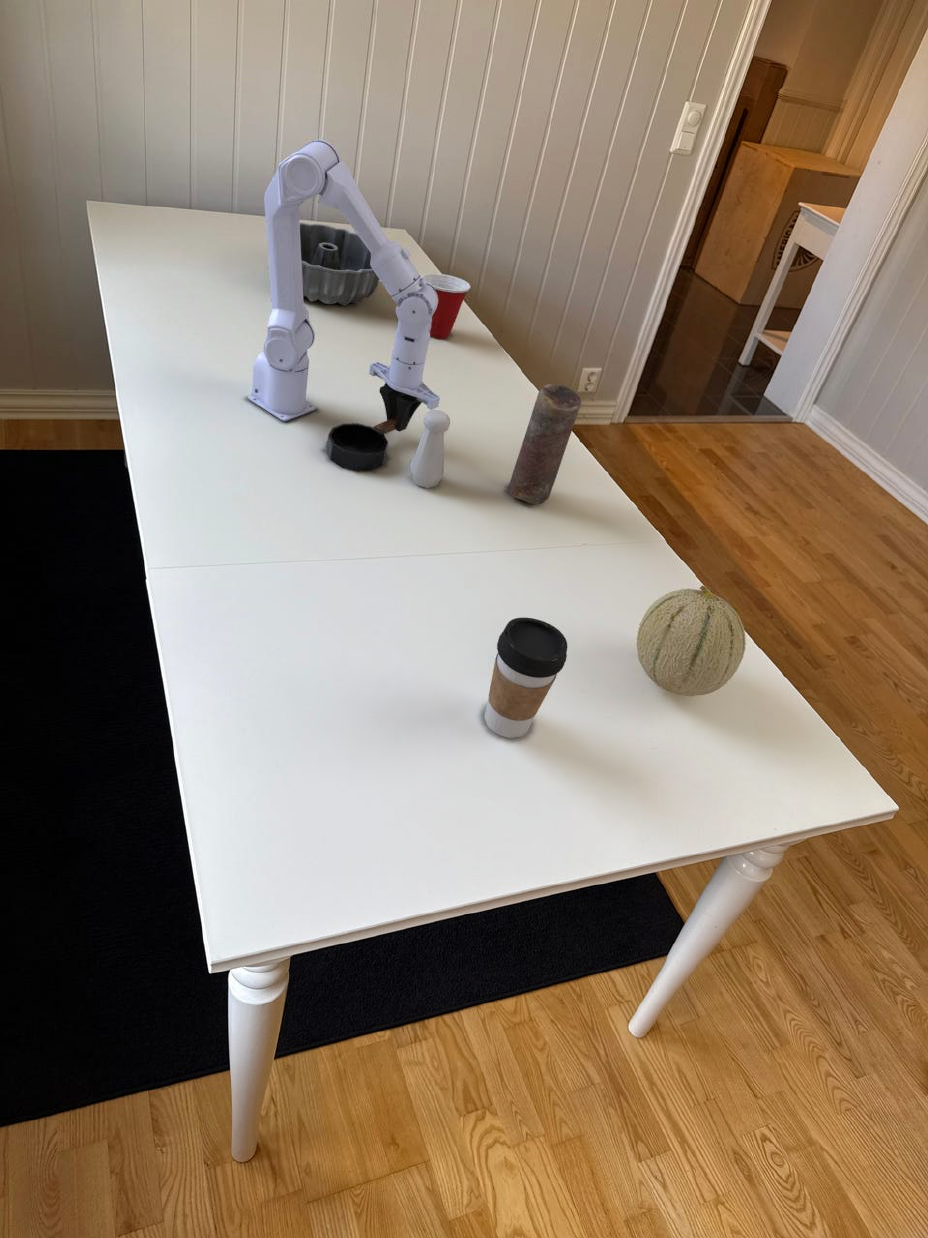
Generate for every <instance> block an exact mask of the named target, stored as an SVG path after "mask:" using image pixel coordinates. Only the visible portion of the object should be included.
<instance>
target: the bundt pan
mask: <svg viewBox="0 0 928 1238" xmlns="http://www.w3.org/2000/svg"><path fill="white" fill-rule="evenodd" d="M299 223H300V243H301V263H302V283H303V297H306V298H307V299H308V300H309V301H310V302H315V301H318V300H319V301H320V302H321V303H323V304H326V305H334V304H336V303H337V304H339V305H341V306H347V305H348V304H349V303H352V304H353V303H360V302H362V301H363V300H365V299H367V298H369V297H370V296H372V295H373V294H374V293H375V291H376V290H377V288H378V285H379V281H380V279H379V278H378V276H377V275H376V273H375V272H374V270H373V269H372V267H371V266H370V261H371V252H370V251H369V249H368V248H367V247H366V245H365V244H364V243H363V241H362V240H361V239H360V237H359V236H358V235H357V233H356V232H351V231H349V230H347V229H346V228H337V227H335V226H331V225H329V224H321V223H306V222H299Z"/></svg>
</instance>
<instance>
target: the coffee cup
mask: <svg viewBox="0 0 928 1238" xmlns="http://www.w3.org/2000/svg"><path fill="white" fill-rule="evenodd" d="M496 649H497V650H496V651H497V653H496V655H495V659H494V664H493V670H492V675H491V680H490V687H489V692H488V698H487V703H486V707H485V712H484V721H485V724H486V726H487V727H488V728H489V730H490V731H492V732H493V733H494V734H496V735H498V736H501V737H503V738H507V739H515V738H519V737H522V736H523V735H525V734H527V732H528V730H529V728H530V727H531V724H532V722H533V721H534V719H535V717H536V715H537V713H538V711H539V709H540V708H541V706H542V704H543V703H544V701H545V699H546V697H547V696H548V693H549V692H550V690H551V688H552V686H553V685H554V682H555V680H556V679H557V676H558V674H559V673H560V672H561V671H562V670H563V668H564V666H565V664H566V662H567V658H568V655H567V652H568V641H567V639H566V636H565V635H564V634H563V633H562V632H561V631H560V630H559V629H558V628H557V627H555V626H554V625H553V624H551V623H548V622H546V621H544V620H541V619H539V618H538V619H537V618H532V617H516V618H512V619H510V621H508V622H507V623H506V625H505V627H504V628H503V630H502V632H501V633H500V634H499V637H498V639H497V642H496Z"/></svg>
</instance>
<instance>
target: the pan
mask: <svg viewBox="0 0 928 1238" xmlns="http://www.w3.org/2000/svg"><path fill="white" fill-rule="evenodd" d="M397 417H398V416H396V417H394V418H392V419H389V420H387V419H386V420H385V421H382V422H380V423H378V424H375V425H374V426H373V427H372V426H369V425H366V424H362V423H357V422H356V423H355V422H354V423H341V424H338V425H336V426H333V427H331V429H330V431H329V433H328V434H327V440H326V449H325V452H326V454H327V456H328V458H329V460H330V461H332V462H333V463H334V464H336V465H338V466H339V467H341V468H343V469H348V470H352V471H355V472H366V471H374V470H376V469H378V468H381V467H382V466H383V465H384V463H385V461H386V458H387V452H388V447H389V441H388V439H387V438H386V436H385V435H386V434H389V433H391V432H394V431H397V430H396V424H397Z"/></svg>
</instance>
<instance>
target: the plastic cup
mask: <svg viewBox="0 0 928 1238" xmlns="http://www.w3.org/2000/svg"><path fill="white" fill-rule="evenodd" d="M423 277H424V278H425V280H426V281H427V282H429V283H430V284H432V285H433V286H434V287H435V291H436V293H437V295H438V305H437V308H436V310H435V312H434V314H433V316H432V322H431V330H430V338H433V339H439V340H442V339H443V340H444V339H448V338H449V337H450V334H451V333H452V330H453V327H454V325H455V323H456V321H457V318H458V316H459V313H460V310H461V307H462V304H463V301H464V300H465V297H466V296H467V293H468V292H469V290H470V289H471V284H470V283H469V282H467V281H466V280H464V279H463V278H460V277H457V276H454V275H449V274H443V273H425V274H422V275H421V278H423Z"/></svg>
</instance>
